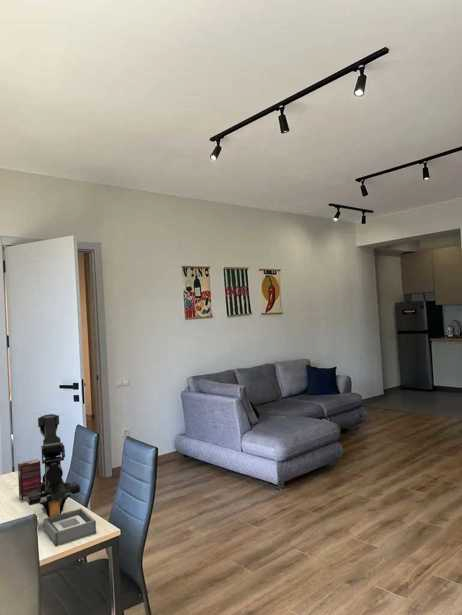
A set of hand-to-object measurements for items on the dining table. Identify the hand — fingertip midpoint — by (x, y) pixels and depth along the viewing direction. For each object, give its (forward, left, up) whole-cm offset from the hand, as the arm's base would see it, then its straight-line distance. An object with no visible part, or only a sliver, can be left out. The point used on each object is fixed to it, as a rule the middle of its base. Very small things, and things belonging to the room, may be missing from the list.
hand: (54, 515), depth 171 cm
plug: (0, 0, -3) cm, 3 cm away
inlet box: (+12, +2, -3) cm, 12 cm away
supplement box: (-34, -1, -3) cm, 34 cm away
